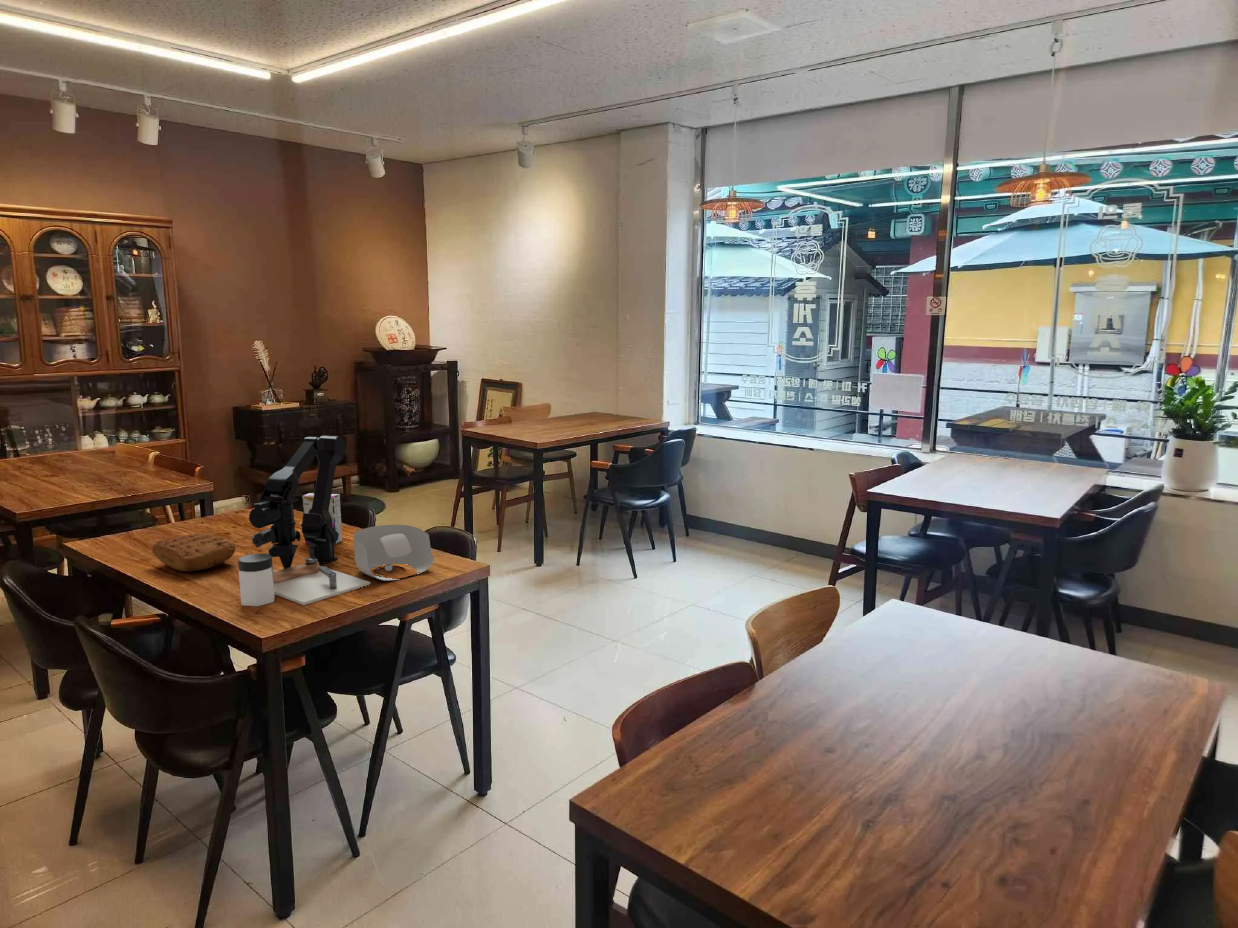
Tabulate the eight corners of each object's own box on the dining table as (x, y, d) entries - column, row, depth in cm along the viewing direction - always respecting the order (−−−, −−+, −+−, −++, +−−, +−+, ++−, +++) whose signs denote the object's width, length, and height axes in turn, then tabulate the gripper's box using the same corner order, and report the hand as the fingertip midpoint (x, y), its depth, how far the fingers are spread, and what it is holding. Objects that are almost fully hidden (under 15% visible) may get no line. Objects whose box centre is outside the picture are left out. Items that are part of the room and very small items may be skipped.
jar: (267, 593, 215) (264, 551, 213) (282, 600, 210) (279, 556, 208) (234, 601, 209) (230, 558, 207) (248, 609, 203) (245, 564, 201)
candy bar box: (304, 543, 263) (301, 495, 260) (311, 539, 268) (308, 492, 265) (336, 544, 262) (333, 496, 259) (343, 540, 267) (340, 493, 264)
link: (314, 568, 234) (313, 560, 233) (322, 570, 232) (321, 562, 231) (258, 583, 220) (258, 574, 220) (266, 585, 218) (265, 577, 218)
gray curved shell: (403, 557, 249) (402, 521, 247) (435, 571, 235) (434, 533, 233) (343, 570, 235) (340, 532, 233) (373, 586, 222) (371, 545, 220)
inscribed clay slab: (149, 565, 239) (147, 540, 238) (206, 552, 253) (204, 528, 252) (186, 579, 227) (183, 552, 225) (243, 564, 240) (241, 539, 239)
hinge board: (317, 567, 238) (317, 564, 238) (370, 584, 223) (370, 581, 223) (251, 585, 222) (251, 582, 222) (303, 605, 207) (303, 602, 206)
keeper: (315, 569, 233) (314, 556, 233) (342, 587, 218) (341, 573, 217) (304, 571, 231) (303, 558, 231) (330, 590, 216) (329, 575, 215)
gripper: (258, 513, 233) (262, 564, 236) (246, 529, 216) (251, 584, 218) (298, 511, 236) (302, 561, 239) (290, 527, 218) (294, 580, 221)
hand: (287, 571), depth 229 cm, fingers closed
